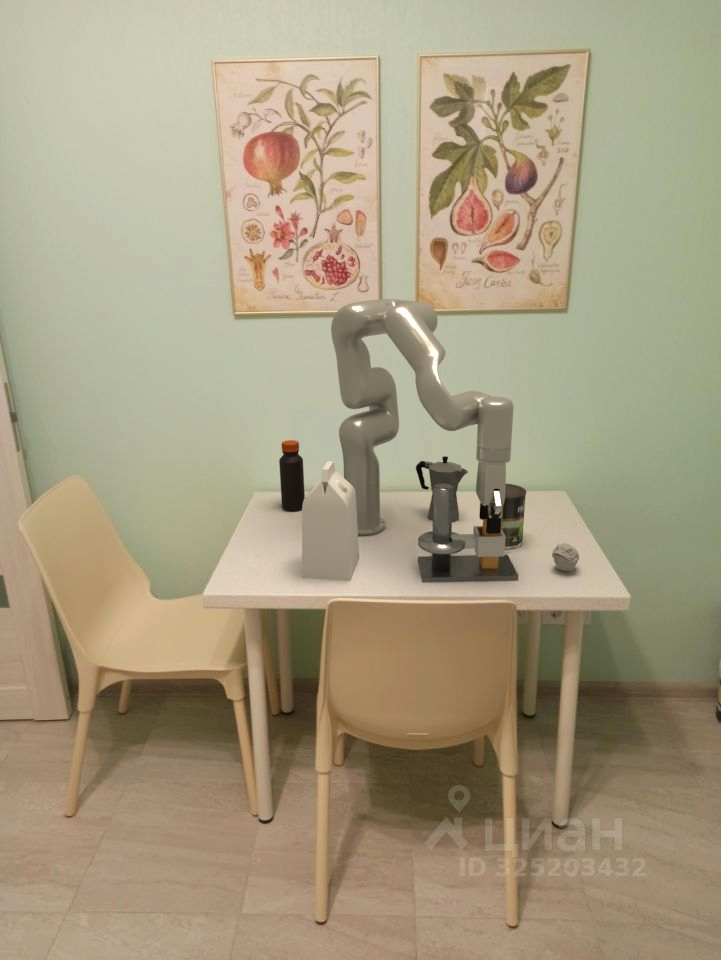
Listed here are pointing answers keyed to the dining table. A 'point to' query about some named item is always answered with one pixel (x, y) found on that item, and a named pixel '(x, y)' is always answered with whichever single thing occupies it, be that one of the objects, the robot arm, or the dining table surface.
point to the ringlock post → (459, 548)
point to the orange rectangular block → (489, 561)
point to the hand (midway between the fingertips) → (489, 525)
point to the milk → (330, 528)
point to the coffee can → (513, 515)
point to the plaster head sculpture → (565, 557)
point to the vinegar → (291, 477)
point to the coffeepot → (442, 480)
